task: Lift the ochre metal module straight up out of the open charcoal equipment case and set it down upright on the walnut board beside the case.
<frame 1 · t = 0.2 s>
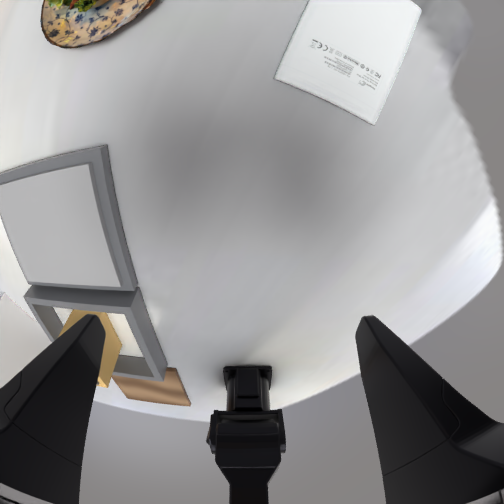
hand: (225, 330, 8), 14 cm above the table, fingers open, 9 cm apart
walnut board: (148, 384, 38), on the table
equipment case: (98, 326, 30), on the table
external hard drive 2: (350, 36, 14), on the table
milk: (26, 328, 32), on the table
ochre module: (89, 347, 27), in the equipment case
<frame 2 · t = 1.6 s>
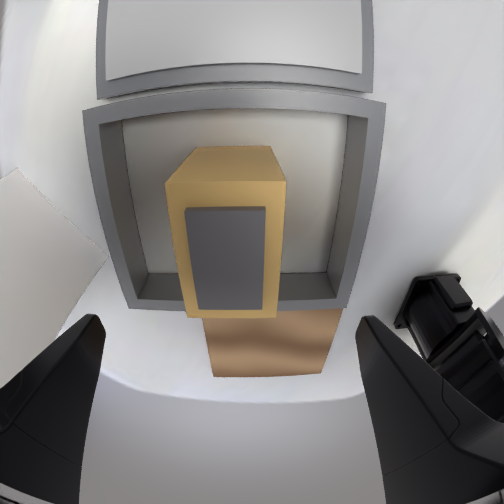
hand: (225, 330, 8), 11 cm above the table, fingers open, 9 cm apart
walnut board: (270, 339, 25), on the table
equipment case: (233, 199, 17), on the table
milk: (39, 252, 19), on the table
ochre module: (231, 225, 14), in the equipment case
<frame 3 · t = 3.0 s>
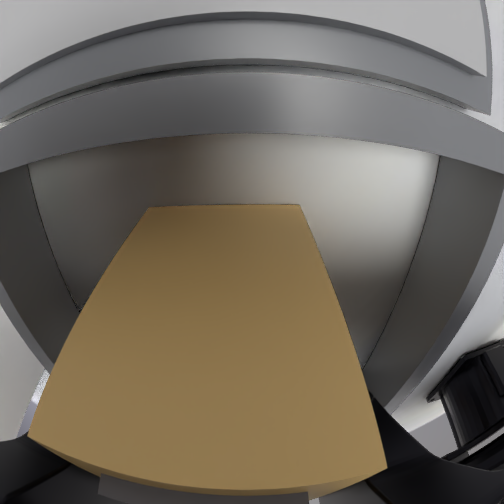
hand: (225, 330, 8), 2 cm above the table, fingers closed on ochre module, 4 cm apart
equipment case: (227, 296, 10), on the table
ochre module: (221, 386, 7), in the equipment case, touching gripper
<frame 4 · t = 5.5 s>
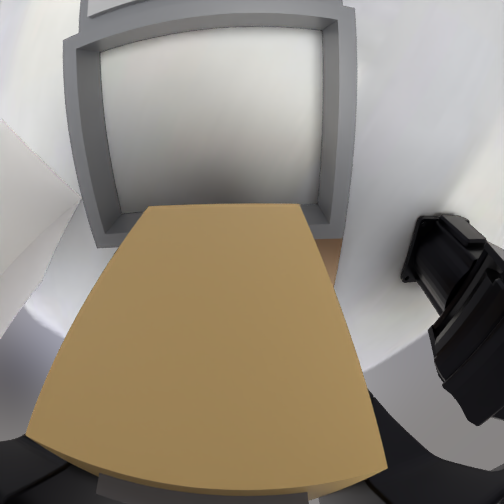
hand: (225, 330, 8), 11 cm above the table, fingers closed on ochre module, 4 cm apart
walnut board: (260, 295, 23), on the table
equipment case: (208, 118, 15), on the table
milk: (18, 206, 17), on the table
ochre module: (220, 386, 7), point 13 cm above the table, touching gripper
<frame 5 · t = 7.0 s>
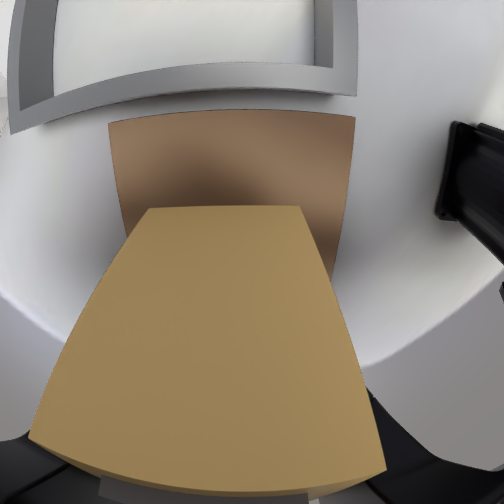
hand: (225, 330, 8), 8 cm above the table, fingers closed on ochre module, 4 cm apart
walnut board: (231, 221, 15), on the table
ochre module: (221, 387, 7), point 10 cm above the table, touching gripper
when the fingers open (4 cm above the table, at t = 8.2 s): ochre module drops 2 cm, resting on walnut board.
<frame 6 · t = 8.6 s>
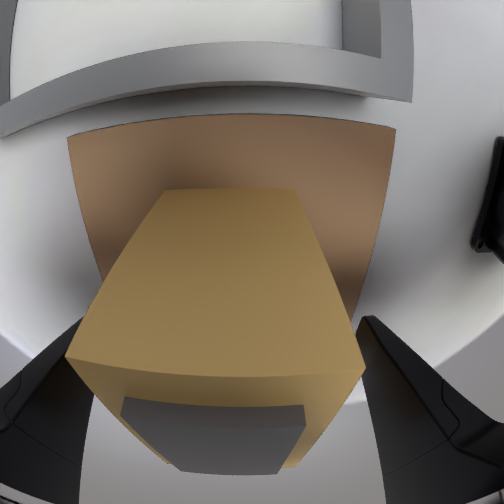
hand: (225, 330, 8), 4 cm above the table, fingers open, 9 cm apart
walnut board: (229, 261, 12), on the table
ochre module: (226, 343, 8), on the walnut board, point 4 cm above the table
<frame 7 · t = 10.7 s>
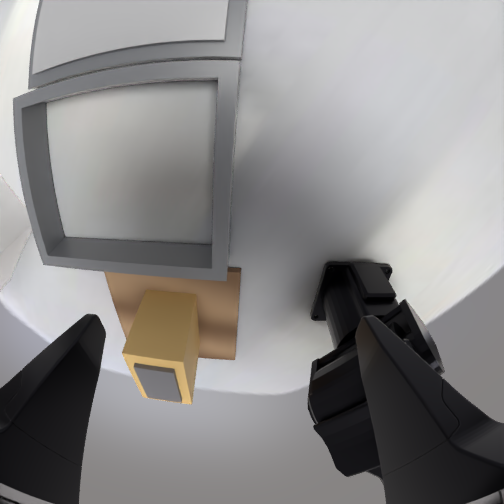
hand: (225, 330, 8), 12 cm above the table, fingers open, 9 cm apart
walnut board: (174, 314, 25), on the table
equipment case: (122, 168, 17), on the table
ochre module: (167, 350, 21), on the walnut board, point 4 cm above the table
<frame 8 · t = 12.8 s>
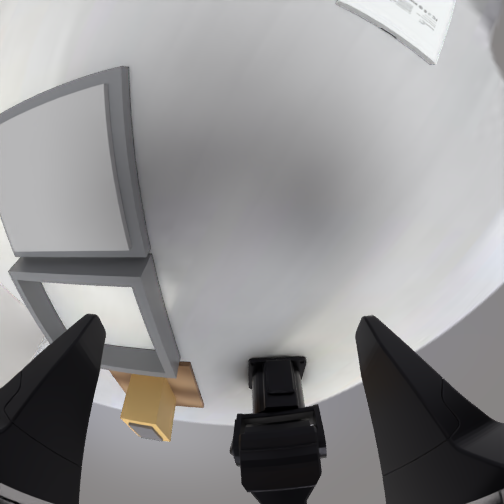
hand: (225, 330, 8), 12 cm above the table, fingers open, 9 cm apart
walnut board: (155, 382, 32), on the table
equipment case: (97, 310, 25), on the table
milk: (14, 316, 27), on the table
ochre module: (150, 409, 29), on the walnut board, point 4 cm above the table
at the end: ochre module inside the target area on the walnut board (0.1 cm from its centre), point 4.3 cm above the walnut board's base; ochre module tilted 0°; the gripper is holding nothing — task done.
